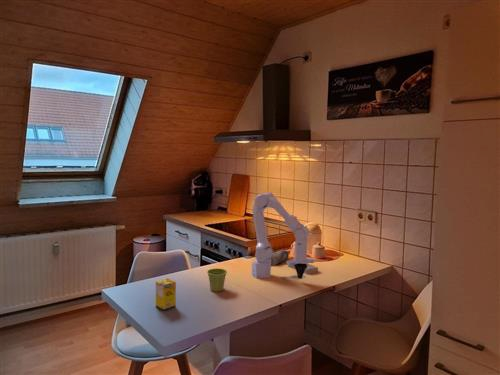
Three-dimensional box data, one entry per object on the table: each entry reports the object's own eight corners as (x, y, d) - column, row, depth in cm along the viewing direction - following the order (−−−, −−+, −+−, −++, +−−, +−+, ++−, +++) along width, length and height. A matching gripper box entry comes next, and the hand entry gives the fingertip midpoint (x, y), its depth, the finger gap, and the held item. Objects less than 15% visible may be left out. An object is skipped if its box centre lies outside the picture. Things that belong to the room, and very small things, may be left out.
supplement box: (175, 307, 157) (176, 281, 156) (163, 311, 152) (164, 285, 151) (167, 302, 161) (167, 277, 160) (155, 306, 156) (155, 281, 155)
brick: (318, 274, 204) (319, 266, 203) (307, 277, 199) (307, 268, 199) (298, 266, 217) (298, 258, 217) (287, 268, 213) (287, 260, 212)
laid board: (284, 282, 190) (284, 279, 190) (280, 279, 194) (280, 276, 194) (306, 279, 195) (306, 277, 195) (302, 276, 199) (302, 274, 199)
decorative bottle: (275, 268, 212) (275, 256, 211) (263, 265, 216) (264, 254, 215) (295, 257, 234) (295, 247, 233) (284, 255, 238) (284, 245, 237)
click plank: (291, 287, 184) (292, 285, 183) (285, 282, 190) (285, 279, 190) (313, 284, 188) (313, 282, 188) (305, 279, 195) (305, 277, 194)
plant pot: (208, 293, 172) (208, 275, 171) (205, 286, 181) (205, 268, 180) (228, 292, 175) (229, 274, 174) (224, 285, 184) (224, 267, 183)
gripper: (292, 254, 179) (290, 282, 180) (318, 252, 185) (316, 279, 186) (285, 250, 185) (283, 277, 187) (310, 248, 191) (309, 274, 192)
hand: (299, 278), depth 187 cm, fingers closed
